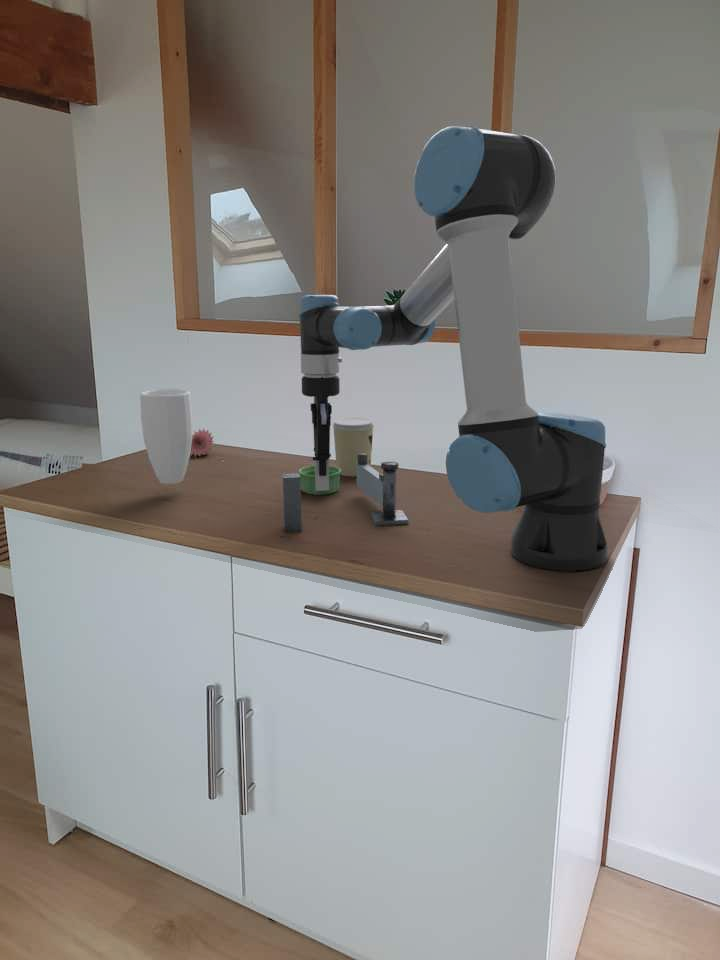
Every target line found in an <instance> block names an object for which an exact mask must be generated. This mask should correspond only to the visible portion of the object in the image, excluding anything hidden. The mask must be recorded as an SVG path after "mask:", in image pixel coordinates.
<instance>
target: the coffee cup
mask: <svg viewBox="0 0 720 960" xmlns="http://www.w3.org/2000/svg"><path fill="white" fill-rule="evenodd" d="M374 426H375V425H374V423H373V421H372V420H371V419H368V418H359V417H358V418H357V417H352V418H351V417H349V418H347V417H346V418H339V419H336V420H334V421H333V425H332V428H333V437H334V450H335V451H334V452H335V453H334V454H335V464H336V466H335V467H338V468H340V469H341V474H340V476H345V477H357V462H358V454H359V453H366V454H367V464H368V465H369V466H370V467H371V465H372V464H371V463H372V462H371V461H372V452H373V451H372V449H373V435H374V434H373V433H374V432H373V431H374Z"/></svg>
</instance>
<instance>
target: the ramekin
mask: <svg viewBox="0 0 720 960" xmlns="http://www.w3.org/2000/svg"><path fill="white" fill-rule="evenodd" d="M298 473H299V474H300V486H301V491H303V493H305V494H308V495H313V496H314V495H316V496H319V495H320V496H321V495H322V496H323V495H331V494H334V493H336V492H338V490H340V478H341V477H340V476H341V475H340V474H341V469H340V468H338V467H337V466H335V465H334V466H332V465H329V490H323V491H316V488H315V464H314V465H308V466H303V467H301V468H299V470H298Z"/></svg>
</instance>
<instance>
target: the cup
mask: <svg viewBox="0 0 720 960" xmlns="http://www.w3.org/2000/svg"><path fill="white" fill-rule="evenodd" d="M139 397H140V398H139V399H140V401H139V402H140V421H141V428H142V435H143V442H144V445H145V449H146V452H147V456H148V460H149V462H150V465H151V467H152V469H153V471H154V474H155V475H156V477H157V479H158V481H159V483H161V484H164V485H175V484H179V483H182V482H183V481H184V478H185V475H186V473H187V469H188V465H189V461H190V458H191V457H190V456H191V452H192V451H191V444H192V435H193V411H192V401H191V393H190V391H189V390H186V389H180V388H178V389H177V388H161V389H160V388H159V389H152V390H146V391H143V392H141V393H140V395H139Z"/></svg>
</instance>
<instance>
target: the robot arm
mask: <svg viewBox="0 0 720 960" xmlns="http://www.w3.org/2000/svg"><path fill="white" fill-rule="evenodd" d="M555 168H556V166H555V164H554V160H553V158H552V156H551V153H550V152H549V150H548V149H547V148H546V147H545V146H544V145H543V144H542V143H541V142H540V141H538V140H537V139H535V138H534V137H530V136H529V135H524V134H518V133H517V134H516V133H507V132H501V131H494V130H489V129H482V128H478V127H476V126H474V125H469V126H468V125H466V126H458V125H457V126H456V125H455V126H453V125H451V126H447V127H444V128H442V129H441V130H438V132H436V133H435V134H434V135H433V136H431V138H430V139H429V140H428V142H426V144H425V146H424V147H423V150H422V152H421V154H420V156H419V158H418V161H417V164H416V167H415V172H414V179H413V191H414V197H415V200H416V203H417V205H418V207H420V208H421V210H422V212H424V213H425V214H427V215H429V216H430V217H434V223H435V230H436V237H438V238H439V239H440V240H442V241H443V242H444V243H445V244H446V245H444V246H443V248H442V249H441V250H440V251H439V252H438V253H437V255H436V256H435V257H434V258H433V259H432V261H430V263H429V264H428V265H427V266H426V268H425V269H424V270H423V271H422V272H421V273H420V275H419V276H417V278H416V279H415V281H413V282H412V284H411V285H410V286H409V287H408V289H407V290H406V291H405V292H404V293H403V294H402V296H401V297H399V299H398V300H397V301H396V303H394V304H392V305H376V306H375V305H373V306H372V305H369V306H368V305H366V306H363V305H362V306H361V305H360V306H340V302H339V297H337V295H335V294H306V295H303V296H302V297H301V298H300V303H299V304H300V307H299V309H300V310H299V311H300V312H299V314H298V316H299V331H300V335H299V336H300V373H301V374H303V376H302V377H301V393H302V395H303V396H306V397H311V398H313V402H312V403H310V411H311V423H312V425H313V452H314V456H312V461H314V465H315V488H316V491H323V490H329V466H330V464H329V462H330V458H331V457H332V454H331V453H330V451H331V450H330V446H331V445H330V444H331V441H330V440H331V438H330V436H331V422H332V421H331V419H332V417H331V414H332V413H333V412H332V411H333V410H332V409H333V408H332V404H331V402H329V397H336V396H338V395H339V394H340V392H341V391H340V377H339V376H338V375H337V374H338V373H340V365H339V364H340V363H342V362H343V358H342V357H339V356H340V348H342V349H348V350H351V351H357V350H359V351H364V350H368V349H371V348H375V347H376V348H377V347H385V346H390V347H391V346H404V345H405V346H414V345H417V344H422V343H426V342H428V341H429V340H430V339H432V337H433V336H434V335H433V334H434V333H433V332H434V331H435V329H436V319H437V318H438V316H440V315H441V313H442V312H443V311H444V310H445V309H447V307H448V306H449V305H450V304H451V303H452V302H453V301H454V307H455V314H456V325H457V332H458V333H457V334H458V342H459V351H460V359H461V360H460V361H461V369H462V377H463V387H464V394H465V405H466V410H465V413H464V414H463V416H462V417H461V418H460V420H458V422H457V426H458V429H457V430H458V437H457V438H456V439H455V440H453V441H452V442H451V444H450V445H449V447H448V449H449V451H447V452H446V457H445V469H446V471H445V472H446V476H447V479H448V481H449V484H450V486H451V488H452V490H453V492H454V493H455V495H456V497H458V498H459V499H460V500H461V501H462V503H464V505H466V506H467V507H468V508H469V509H471V510H472V511H475V512H479V513H484V514H490V513H491V514H492V513H497V512H508V511H511V510H514V509H515V508H519V507H523V509H522V511H521V514H520V517H519V519H518V521H517V523H516V526H515V527H514V528H515V529H514V531H513V533H512V536H511V542H510V544H511V545H510V553H511V555H512V556H513V557H514V559H516V560H518V561H520V562H522V563H524V564H526V565H529V566H532V567H535V568H539V569H543V568H544V570H549V569H550V571H556V570H557V571H558V570H560V571H558V572H577V571H576V570H583V571H588V570H587V569H590V570H593V568H594V569H596V568H597V569H598V568H600V567H601V566H604V564H605V563H606V562H607V556H608V543H607V539H606V535H605V531H604V526H603V523H602V519H601V515H600V505H601V494H602V483H603V471H604V461H605V460H604V459H605V451H606V450H605V449H606V448H607V444H606V426H605V425H604V423H603V422H601V421H600V420H599V419H596V418H593V417H592V418H591V417H589V416H588V417H586V416H580V415H575V414H567V413H558V412H548V411H547V412H546V411H536V410H534V408H532V407H531V406H529V404H528V403H527V399H526V389H525V381H524V380H525V379H524V370H523V369H524V368H523V361H522V350H521V349H522V348H521V341H520V333H519V331H520V329H519V321H518V313H517V301H516V294H515V293H516V292H515V285H514V284H515V283H514V273H513V262H512V256H511V254H512V253H511V245H510V242H511V241H518V240H521V239H522V238H524V237H525V236H526V234H527V233H529V232H530V231H531V229H533V227H534V226H535V225H536V224H537V223H538V222H539V221H540V220H541V217H543V216H544V214H545V212H546V211H547V209H548V207H549V206H550V204H551V201H552V200H553V196H554V193H555V188H556V180H557V179H556V178H557V177H556V176H557V175H556V174H557V173H556V169H555Z"/></svg>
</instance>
